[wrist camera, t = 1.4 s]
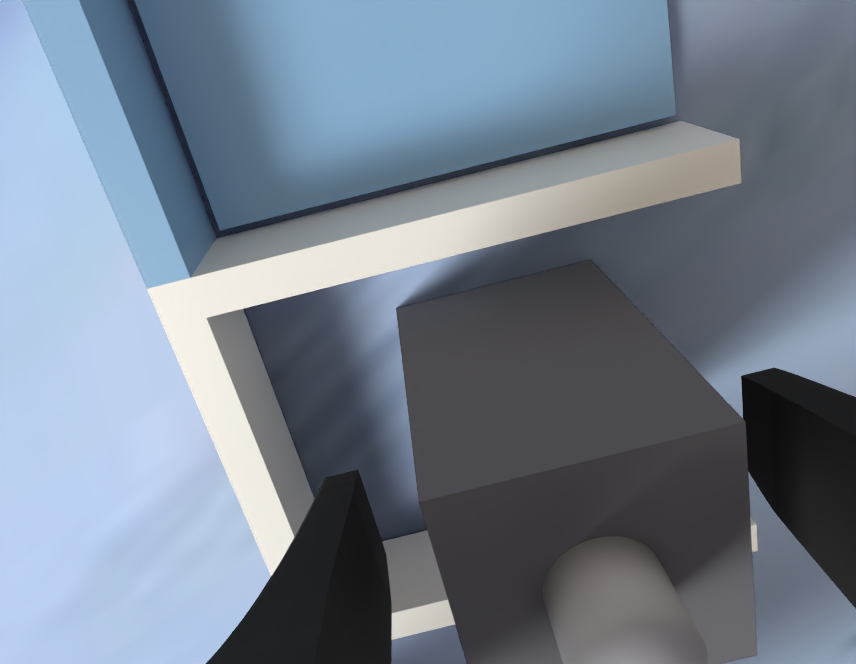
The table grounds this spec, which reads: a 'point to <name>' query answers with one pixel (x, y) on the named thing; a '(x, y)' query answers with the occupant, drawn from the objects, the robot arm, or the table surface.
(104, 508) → the table surface
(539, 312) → the plug
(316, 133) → the two-rail blue tray
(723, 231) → the table surface
